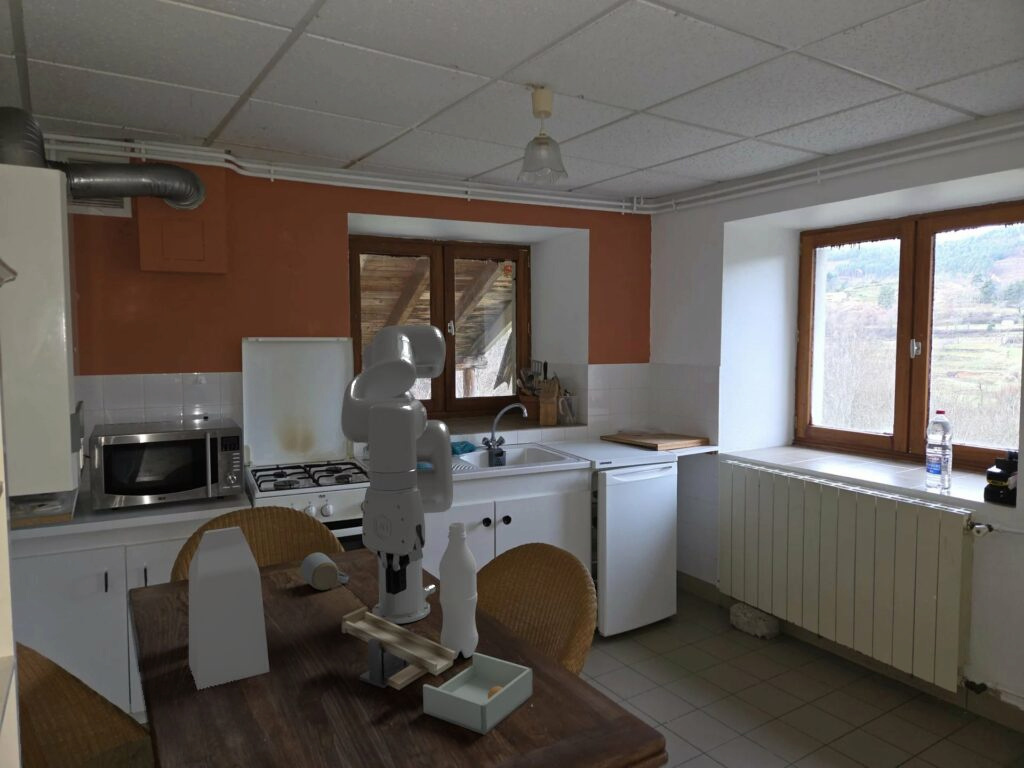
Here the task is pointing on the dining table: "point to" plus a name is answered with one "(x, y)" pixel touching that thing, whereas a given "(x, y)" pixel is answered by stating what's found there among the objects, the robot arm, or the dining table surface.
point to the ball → (494, 691)
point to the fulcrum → (382, 665)
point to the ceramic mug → (321, 572)
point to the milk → (225, 611)
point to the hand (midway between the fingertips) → (396, 591)
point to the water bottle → (458, 594)
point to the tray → (480, 694)
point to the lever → (399, 646)
